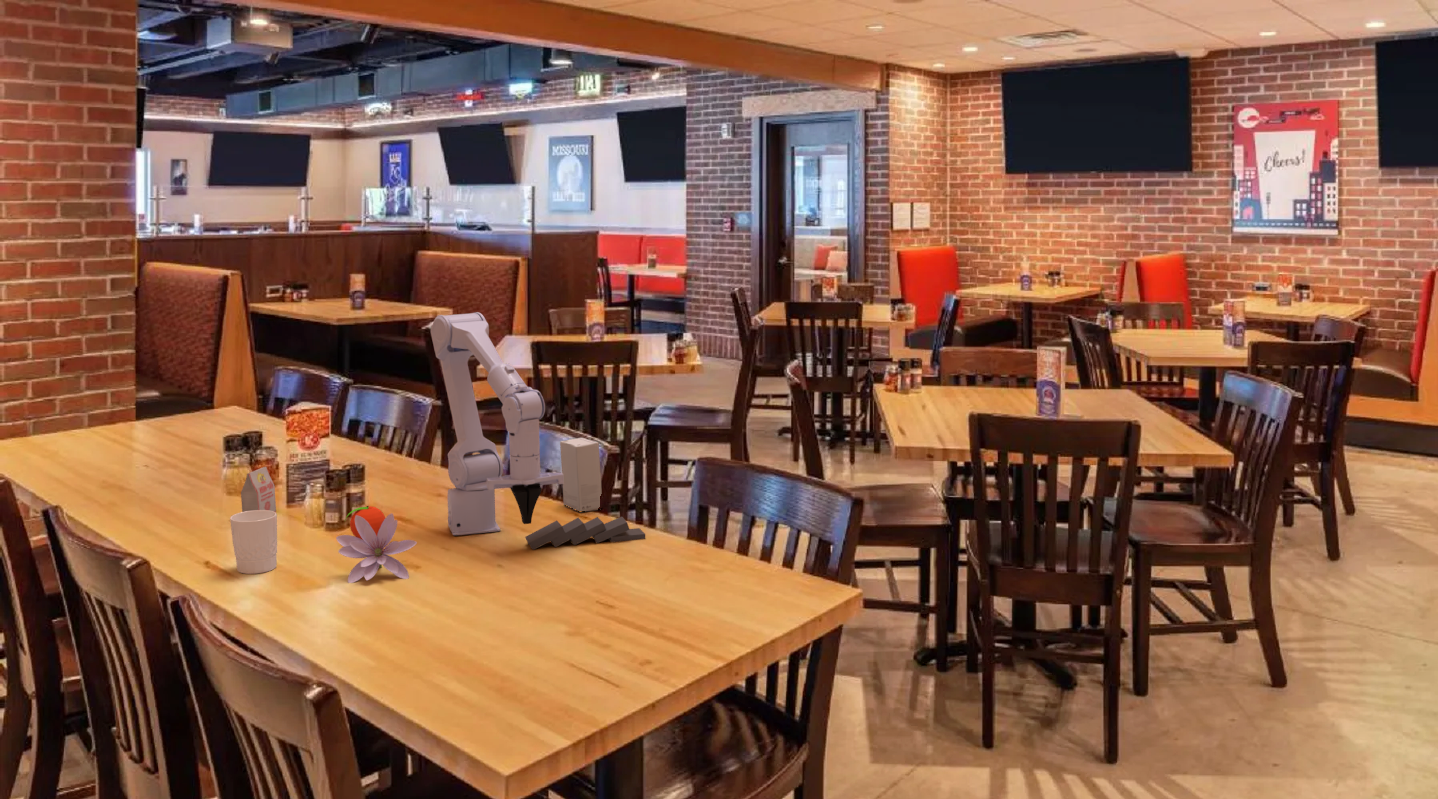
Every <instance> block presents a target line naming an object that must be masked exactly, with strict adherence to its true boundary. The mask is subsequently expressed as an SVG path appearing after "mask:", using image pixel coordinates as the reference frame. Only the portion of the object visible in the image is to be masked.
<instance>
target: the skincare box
mask: <svg viewBox="0 0 1438 799" xmlns="http://www.w3.org/2000/svg"><path fill="white" fill-rule="evenodd" d="M599 444H600V443H599V442H597V441H594V440H590V439H587V438H584V437H578V438H573V439H567V440H566V439H565V440H561V441H559V445H560V446H559V447H560V463H561V465H560V466H561V473H562V474H563V476H564V484H562V495H563V496H562V500H563V506H564V505H567V506H569V507H571V508H573V509H572V510H574V509H576V510H578V511H585V512H590V511H591V512H592V511H598V508H599V507H600V496H601V494H603V493H602V476H601V474H602V473H601V461H600V460H601V457H600V445H599ZM567 506H566V507H567ZM569 507H568V508H569ZM571 508H570V509H571ZM576 510H575V511H576ZM578 511H577V512H578Z"/></svg>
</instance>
